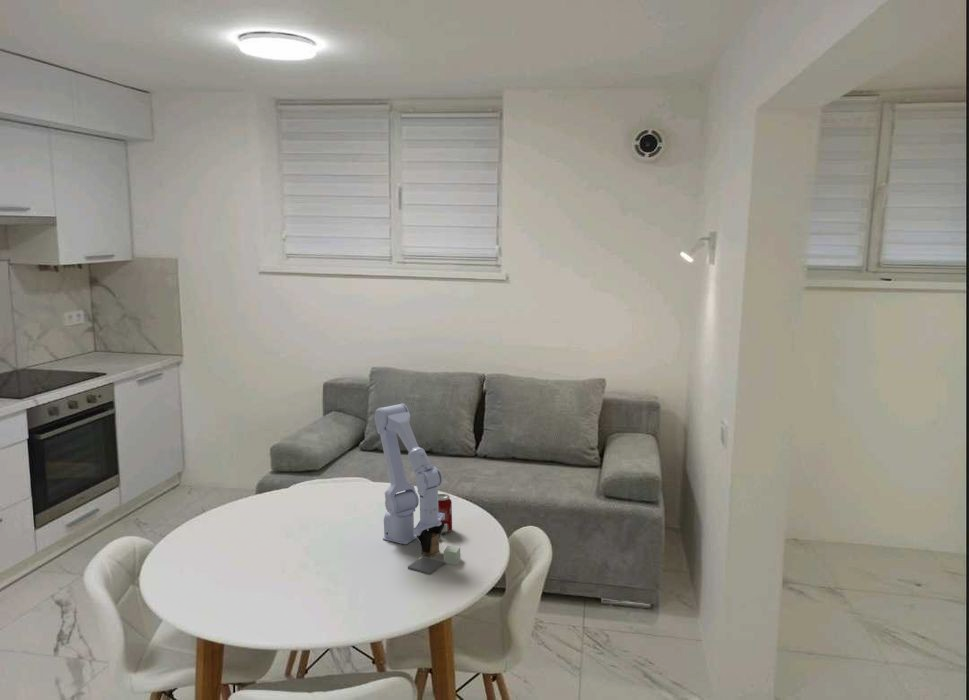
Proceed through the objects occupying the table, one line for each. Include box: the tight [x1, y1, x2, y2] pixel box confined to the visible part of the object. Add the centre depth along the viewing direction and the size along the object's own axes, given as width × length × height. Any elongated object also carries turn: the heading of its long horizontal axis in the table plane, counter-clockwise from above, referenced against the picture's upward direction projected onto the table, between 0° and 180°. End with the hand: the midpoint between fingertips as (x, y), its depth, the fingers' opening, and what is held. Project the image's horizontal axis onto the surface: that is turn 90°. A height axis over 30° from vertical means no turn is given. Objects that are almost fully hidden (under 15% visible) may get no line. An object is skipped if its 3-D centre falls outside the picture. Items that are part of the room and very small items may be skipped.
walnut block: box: [420, 532, 440, 558], centre depth 231 cm, size 4×4×6 cm
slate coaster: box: [407, 555, 445, 575], centre depth 223 cm, size 8×8×1 cm
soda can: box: [438, 493, 453, 535], centre depth 247 cm, size 7×7×12 cm
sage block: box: [443, 545, 461, 566], centre depth 226 cm, size 4×4×4 cm
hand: (430, 548), depth 232 cm, fingers closed on walnut block, 4 cm apart
